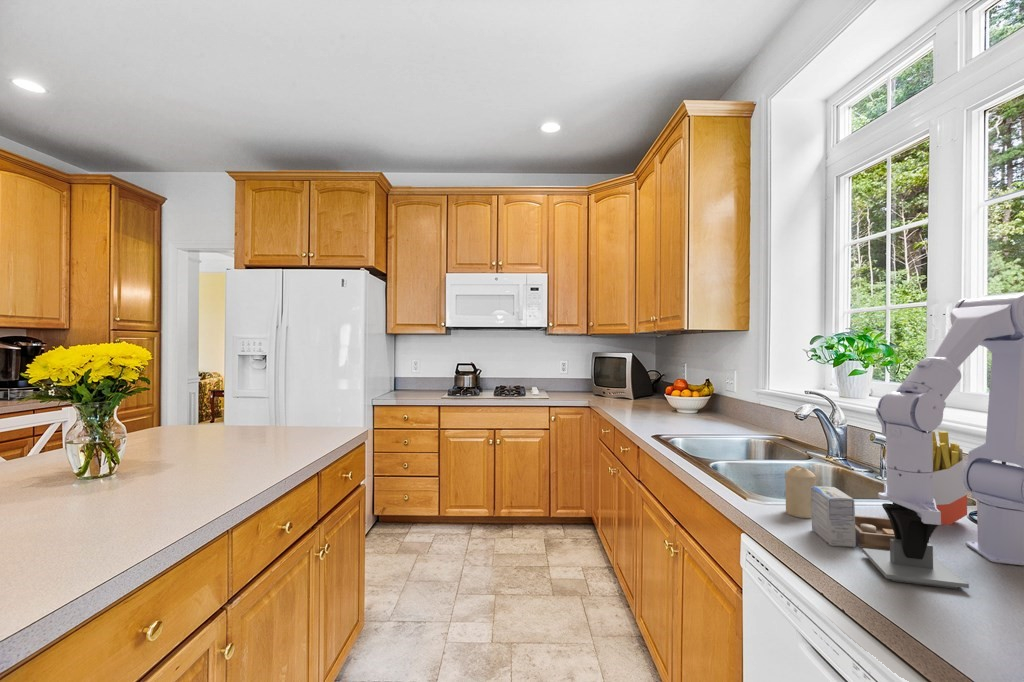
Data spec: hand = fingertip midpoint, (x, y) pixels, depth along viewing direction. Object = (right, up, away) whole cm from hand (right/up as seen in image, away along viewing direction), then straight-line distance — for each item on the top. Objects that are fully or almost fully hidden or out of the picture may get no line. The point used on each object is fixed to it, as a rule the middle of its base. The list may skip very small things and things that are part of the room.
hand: (910, 554), depth 77 cm
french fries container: (+23, -3, +23) cm, 32 cm away
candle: (-1, -3, +27) cm, 27 cm away
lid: (0, -2, 0) cm, 2 cm away
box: (+5, -3, +13) cm, 14 cm away
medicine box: (-3, -3, +14) cm, 14 cm away
